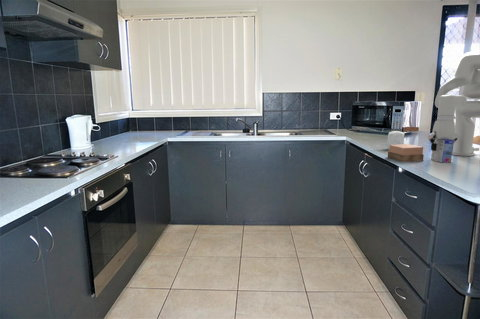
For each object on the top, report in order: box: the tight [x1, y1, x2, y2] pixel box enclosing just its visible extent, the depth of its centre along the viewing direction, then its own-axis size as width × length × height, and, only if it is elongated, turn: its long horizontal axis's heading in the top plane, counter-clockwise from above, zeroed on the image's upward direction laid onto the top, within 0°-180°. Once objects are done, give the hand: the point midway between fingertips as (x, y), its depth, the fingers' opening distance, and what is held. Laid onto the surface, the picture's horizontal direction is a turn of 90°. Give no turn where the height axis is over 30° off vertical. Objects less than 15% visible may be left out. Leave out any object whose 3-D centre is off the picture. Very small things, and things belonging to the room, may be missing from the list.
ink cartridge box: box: [430, 139, 454, 163], centre depth 169 cm, size 10×6×14 cm, turn 1°
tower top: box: [388, 143, 424, 155], centre depth 176 cm, size 12×12×4 cm
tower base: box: [387, 150, 424, 163], centre depth 177 cm, size 13×13×4 cm
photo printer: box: [386, 130, 405, 151], centre depth 208 cm, size 10×4×12 cm, turn 84°
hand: (441, 150), depth 169 cm, fingers open, 9 cm apart
